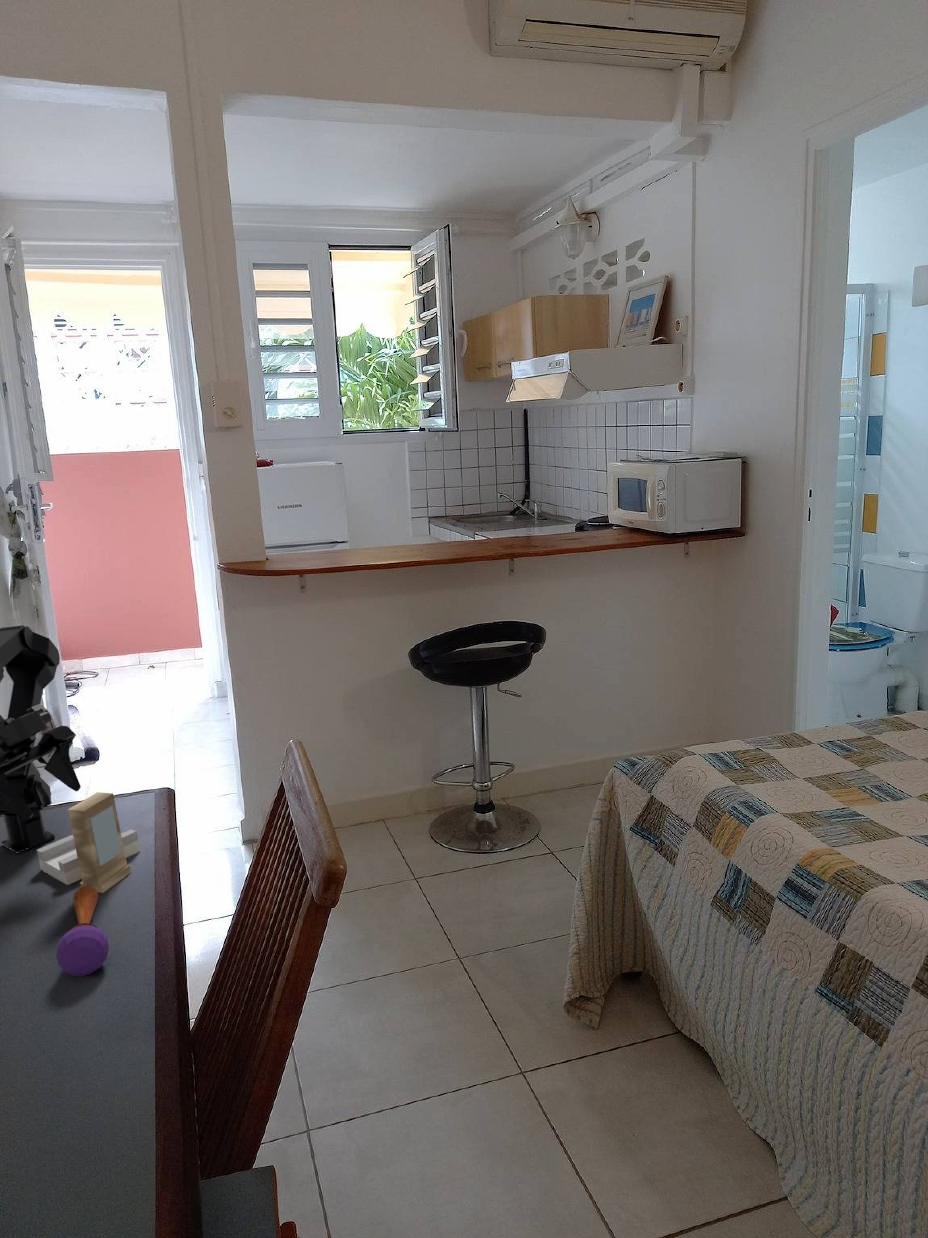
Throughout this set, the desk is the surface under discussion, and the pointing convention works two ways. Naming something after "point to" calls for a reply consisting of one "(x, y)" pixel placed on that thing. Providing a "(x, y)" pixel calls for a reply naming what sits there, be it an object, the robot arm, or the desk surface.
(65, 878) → the ledge
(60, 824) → the desk surface
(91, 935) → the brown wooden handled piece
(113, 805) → the beige block with panel
